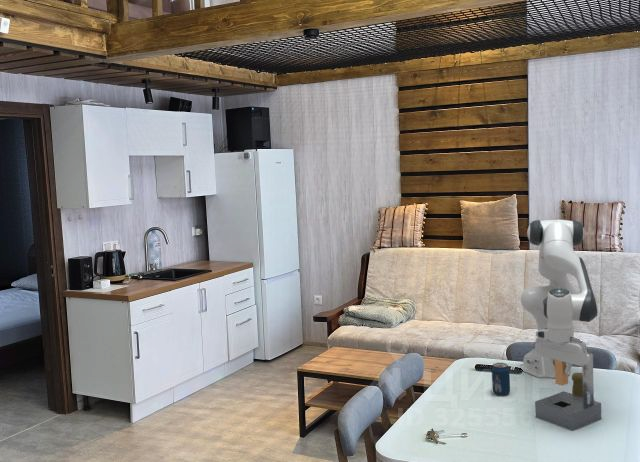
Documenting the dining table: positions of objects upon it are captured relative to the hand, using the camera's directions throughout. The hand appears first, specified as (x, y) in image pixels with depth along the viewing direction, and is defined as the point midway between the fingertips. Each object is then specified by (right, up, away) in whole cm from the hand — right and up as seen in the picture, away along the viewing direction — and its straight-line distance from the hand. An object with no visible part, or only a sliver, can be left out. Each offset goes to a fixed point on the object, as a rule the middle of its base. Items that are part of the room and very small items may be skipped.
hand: (561, 372), depth 234 cm
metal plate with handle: (+4, -17, +3) cm, 18 cm away
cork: (+14, -15, +19) cm, 28 cm away
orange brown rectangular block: (0, -4, 0) cm, 4 cm away
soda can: (-13, -16, +32) cm, 38 cm away
